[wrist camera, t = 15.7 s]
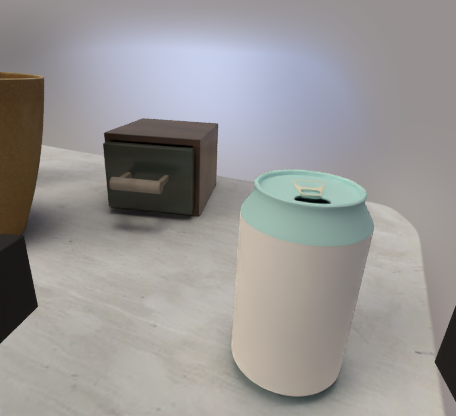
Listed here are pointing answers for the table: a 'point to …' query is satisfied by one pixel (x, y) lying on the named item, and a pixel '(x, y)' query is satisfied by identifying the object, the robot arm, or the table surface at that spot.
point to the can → (298, 278)
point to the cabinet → (178, 135)
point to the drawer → (150, 176)
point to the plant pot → (19, 147)
